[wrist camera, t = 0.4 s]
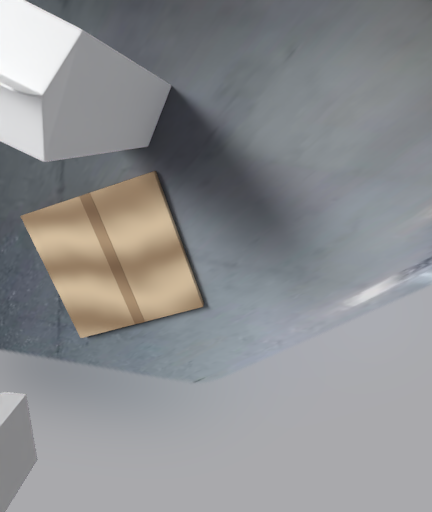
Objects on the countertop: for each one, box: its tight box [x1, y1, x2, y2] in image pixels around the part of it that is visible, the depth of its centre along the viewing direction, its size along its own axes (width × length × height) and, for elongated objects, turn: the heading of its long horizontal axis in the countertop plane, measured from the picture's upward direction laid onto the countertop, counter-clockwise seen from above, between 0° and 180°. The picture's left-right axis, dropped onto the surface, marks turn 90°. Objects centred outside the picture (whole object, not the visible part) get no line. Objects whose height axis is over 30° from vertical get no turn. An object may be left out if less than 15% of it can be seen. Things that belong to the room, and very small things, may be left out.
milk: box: [0, 0, 171, 162], centre depth 23 cm, size 6×6×22 cm
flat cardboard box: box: [21, 171, 204, 338], centre depth 38 cm, size 15×15×1 cm
